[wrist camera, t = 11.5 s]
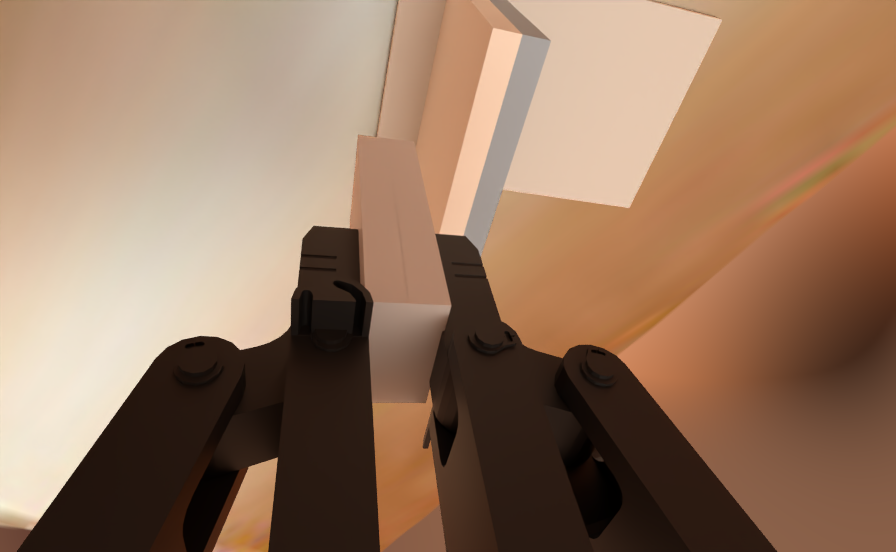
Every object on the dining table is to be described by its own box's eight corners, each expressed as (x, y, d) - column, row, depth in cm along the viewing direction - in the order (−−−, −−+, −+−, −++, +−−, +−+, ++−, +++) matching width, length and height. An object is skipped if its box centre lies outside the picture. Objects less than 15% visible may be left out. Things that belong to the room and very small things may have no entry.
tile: (450, -23, 24) (493, 27, 17) (493, -13, 24) (551, 40, 17) (409, 176, 30) (428, 276, 23) (444, 181, 30) (473, 280, 23)
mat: (408, -63, 23) (409, -61, 23) (715, 17, 27) (722, 19, 27) (371, 165, 29) (371, 170, 29) (625, 203, 33) (629, 207, 33)
